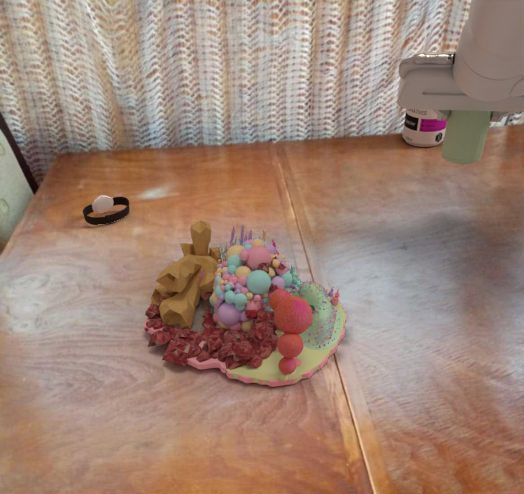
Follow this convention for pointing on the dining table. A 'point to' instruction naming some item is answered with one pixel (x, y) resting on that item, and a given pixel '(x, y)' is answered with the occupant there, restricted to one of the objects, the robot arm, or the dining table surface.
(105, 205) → the watch
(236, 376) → the pastel sphere sculpture
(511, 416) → the dining table surface
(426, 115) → the supplement can
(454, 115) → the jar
